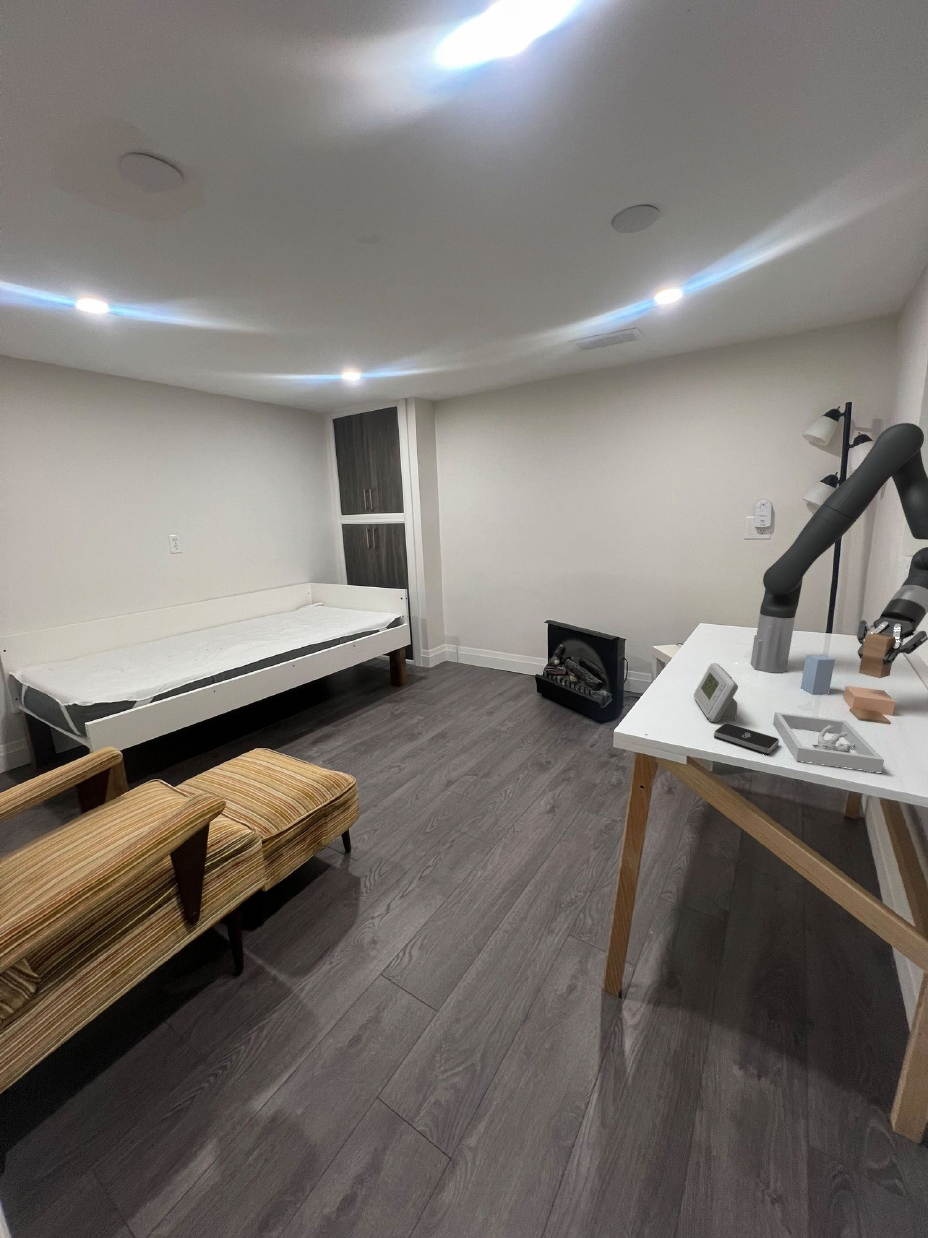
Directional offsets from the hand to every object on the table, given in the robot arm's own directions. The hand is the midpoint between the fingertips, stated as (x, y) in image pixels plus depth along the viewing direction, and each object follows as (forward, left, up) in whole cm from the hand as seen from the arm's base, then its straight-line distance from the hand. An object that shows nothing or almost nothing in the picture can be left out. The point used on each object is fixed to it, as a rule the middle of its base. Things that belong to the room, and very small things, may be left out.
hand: (872, 659), depth 119 cm
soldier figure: (-16, -29, -13) cm, 36 cm away
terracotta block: (+1, +2, -13) cm, 14 cm away
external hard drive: (-32, -29, -14) cm, 45 cm away
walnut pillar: (+1, +1, -4) cm, 5 cm away
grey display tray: (-17, -27, -13) cm, 34 cm away
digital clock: (-36, -14, -13) cm, 41 cm away
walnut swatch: (-1, -6, -13) cm, 14 cm away
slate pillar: (-8, +9, -13) cm, 18 cm away
